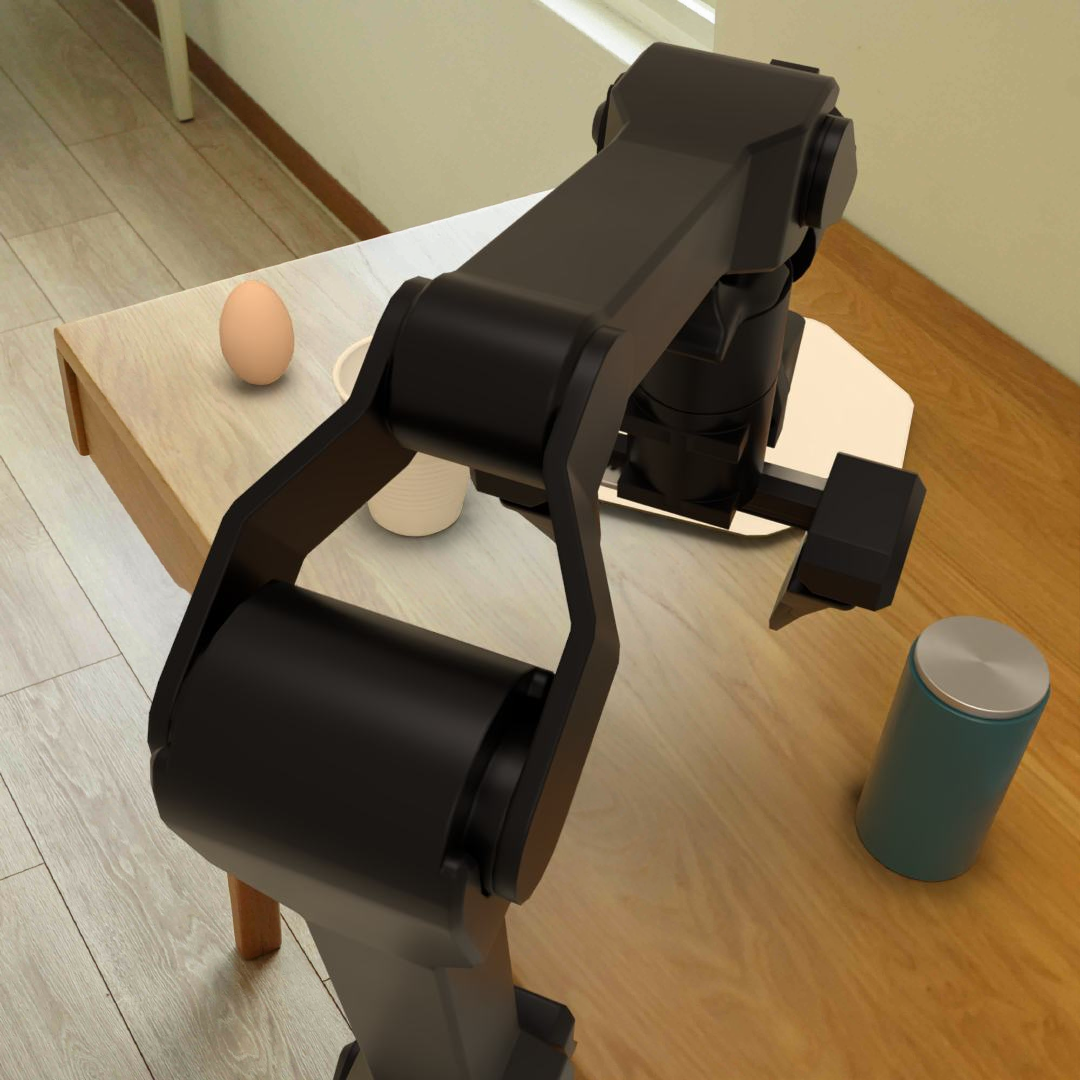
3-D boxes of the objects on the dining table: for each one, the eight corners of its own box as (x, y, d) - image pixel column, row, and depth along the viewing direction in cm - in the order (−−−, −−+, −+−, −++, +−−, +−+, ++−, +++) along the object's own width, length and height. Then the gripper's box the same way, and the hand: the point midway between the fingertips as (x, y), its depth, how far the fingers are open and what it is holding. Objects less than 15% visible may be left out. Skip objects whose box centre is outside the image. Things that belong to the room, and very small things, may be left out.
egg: (229, 405, 97) (217, 307, 91) (221, 365, 101) (208, 268, 95) (303, 396, 98) (295, 298, 93) (291, 356, 102) (283, 260, 96)
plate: (983, 477, 95) (989, 460, 94) (648, 588, 85) (650, 571, 84) (763, 287, 113) (766, 271, 112) (463, 359, 103) (464, 343, 102)
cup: (330, 555, 86) (320, 415, 78) (351, 458, 93) (343, 322, 86) (486, 564, 86) (490, 425, 78) (494, 467, 93) (499, 332, 86)
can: (982, 893, 69) (1059, 727, 60) (852, 866, 70) (911, 699, 61) (978, 793, 74) (1050, 626, 65) (857, 769, 75) (912, 601, 66)
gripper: (991, 283, 54) (915, 523, 66) (556, 180, 58) (562, 422, 71) (929, 485, 48) (859, 708, 60) (449, 352, 52) (476, 584, 65)
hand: (682, 592), depth 64 cm, fingers open, 9 cm apart
